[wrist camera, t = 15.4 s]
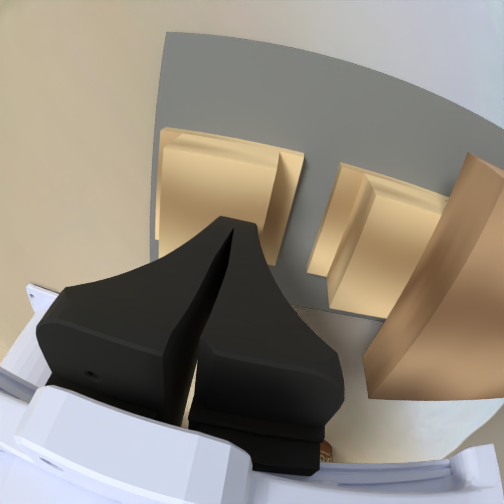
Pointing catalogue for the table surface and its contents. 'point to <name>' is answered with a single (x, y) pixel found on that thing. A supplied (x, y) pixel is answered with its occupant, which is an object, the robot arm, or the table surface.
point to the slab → (450, 304)
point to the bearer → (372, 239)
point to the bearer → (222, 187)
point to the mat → (314, 130)
